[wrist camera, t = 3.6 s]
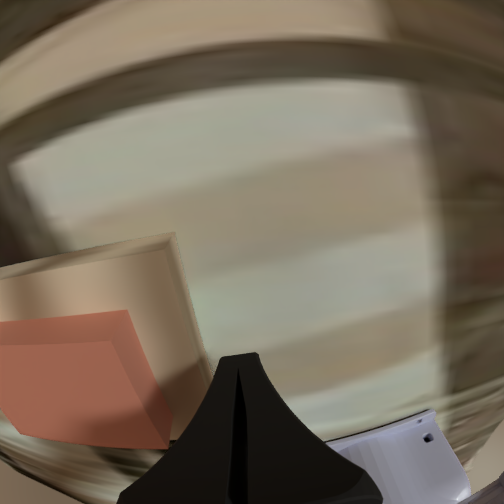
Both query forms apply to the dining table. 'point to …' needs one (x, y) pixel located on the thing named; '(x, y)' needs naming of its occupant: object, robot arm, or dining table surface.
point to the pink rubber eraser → (82, 382)
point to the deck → (123, 307)
